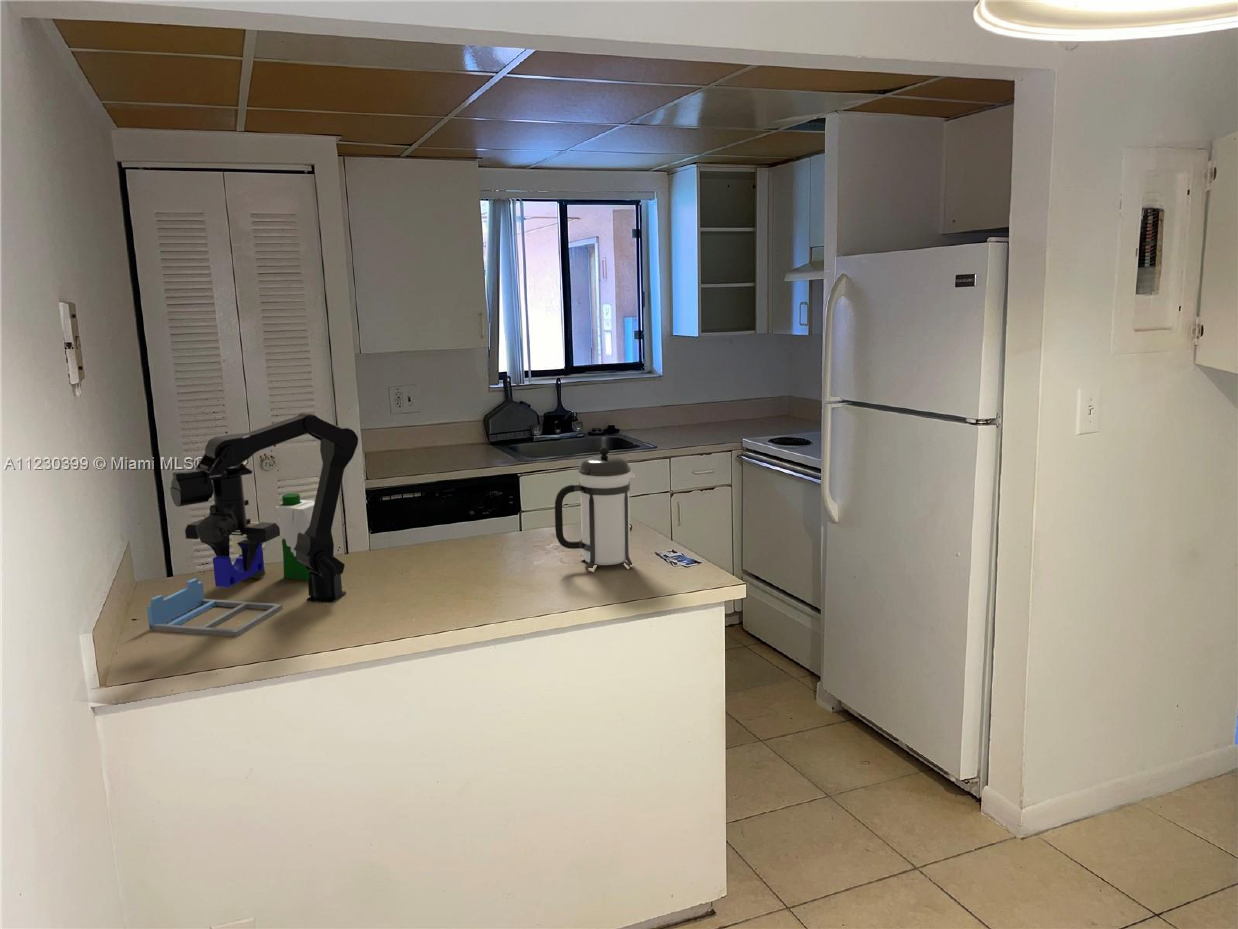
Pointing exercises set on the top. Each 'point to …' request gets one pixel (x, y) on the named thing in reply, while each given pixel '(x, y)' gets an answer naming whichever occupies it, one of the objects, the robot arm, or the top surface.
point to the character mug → (238, 550)
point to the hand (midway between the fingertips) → (236, 570)
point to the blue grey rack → (200, 611)
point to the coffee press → (600, 510)
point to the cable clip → (235, 569)
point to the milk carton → (293, 532)
